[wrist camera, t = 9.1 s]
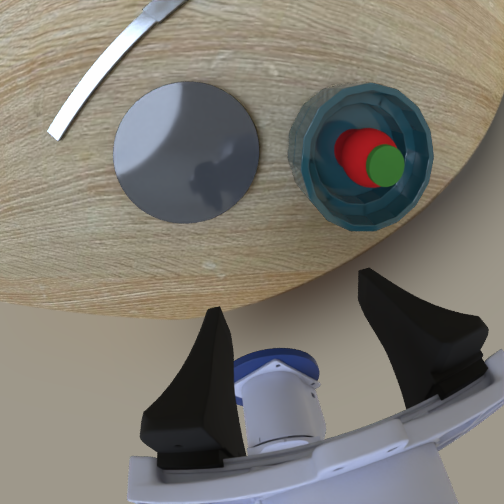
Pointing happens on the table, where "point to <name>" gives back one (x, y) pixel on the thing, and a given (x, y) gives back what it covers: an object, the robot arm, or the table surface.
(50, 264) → the table surface
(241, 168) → the plate
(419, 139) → the bowl
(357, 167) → the strawberry
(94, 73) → the fork
